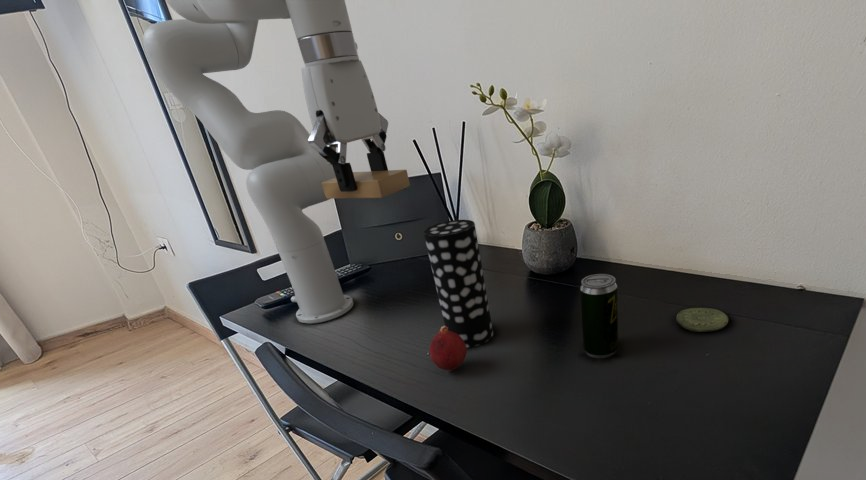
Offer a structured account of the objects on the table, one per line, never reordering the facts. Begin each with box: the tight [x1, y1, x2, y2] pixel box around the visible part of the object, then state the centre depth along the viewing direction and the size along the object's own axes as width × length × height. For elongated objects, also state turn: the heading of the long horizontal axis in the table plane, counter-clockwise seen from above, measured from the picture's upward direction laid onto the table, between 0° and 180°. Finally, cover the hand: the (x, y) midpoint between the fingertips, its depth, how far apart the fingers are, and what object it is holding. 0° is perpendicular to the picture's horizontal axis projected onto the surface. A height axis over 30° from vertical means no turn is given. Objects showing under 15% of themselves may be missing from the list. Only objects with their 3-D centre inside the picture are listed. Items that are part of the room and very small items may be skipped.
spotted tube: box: [423, 219, 494, 349], centre depth 80 cm, size 8×8×20 cm
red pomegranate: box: [429, 325, 468, 372], centre depth 74 cm, size 6×6×8 cm
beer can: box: [579, 273, 619, 359], centre depth 72 cm, size 5×5×12 cm
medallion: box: [675, 307, 729, 333], centre depth 77 cm, size 8×8×1 cm
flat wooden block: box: [321, 169, 411, 200], centre depth 75 cm, size 12×7×2 cm, turn 61°
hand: (365, 183), depth 75 cm, fingers closed on flat wooden block, 7 cm apart
